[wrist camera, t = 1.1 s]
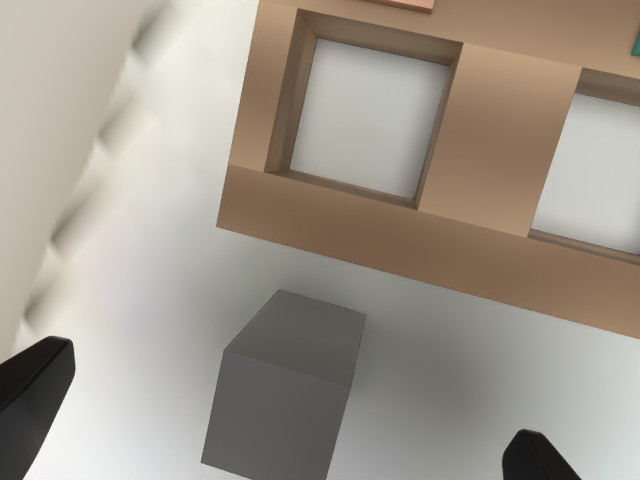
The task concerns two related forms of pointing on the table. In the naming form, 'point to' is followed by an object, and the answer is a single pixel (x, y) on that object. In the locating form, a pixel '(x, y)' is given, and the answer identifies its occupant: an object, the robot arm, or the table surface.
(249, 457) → the grey upright block
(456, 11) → the socket board
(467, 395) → the table surface
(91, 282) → the table surface
